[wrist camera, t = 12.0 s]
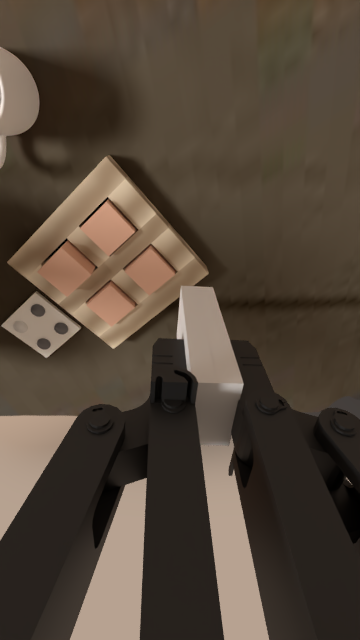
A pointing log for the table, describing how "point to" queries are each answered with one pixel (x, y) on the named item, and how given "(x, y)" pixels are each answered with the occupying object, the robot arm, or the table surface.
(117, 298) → the button
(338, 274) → the table surface
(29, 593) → the robot arm
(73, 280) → the button
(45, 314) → the card
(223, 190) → the table surface
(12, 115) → the cup
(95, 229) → the button
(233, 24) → the table surface
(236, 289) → the table surface
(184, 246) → the board
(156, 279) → the button
